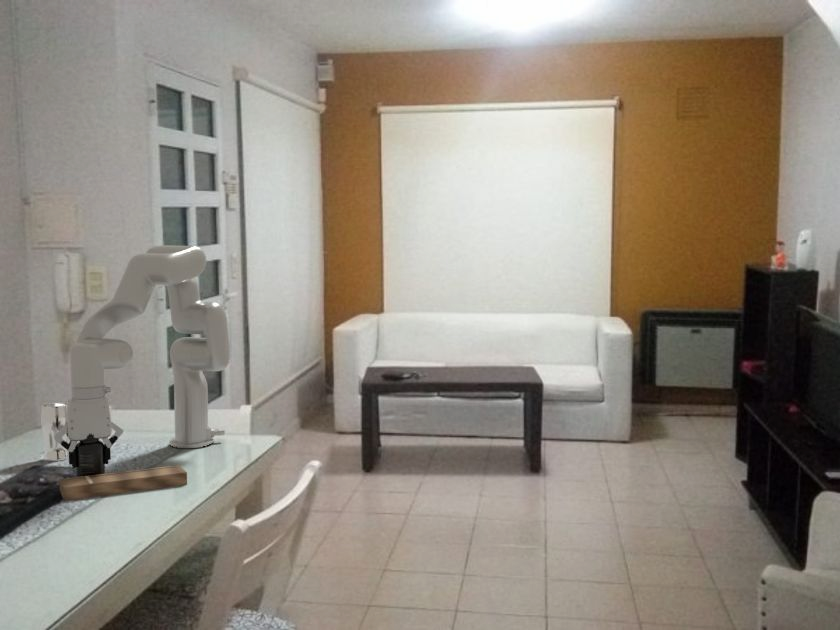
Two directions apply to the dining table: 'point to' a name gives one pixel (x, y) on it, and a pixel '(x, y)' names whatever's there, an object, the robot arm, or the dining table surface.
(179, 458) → the dining table surface
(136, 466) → the dining table surface
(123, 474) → the walnut plank
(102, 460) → the supplement bottle
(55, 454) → the beer glass
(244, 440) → the dining table surface
